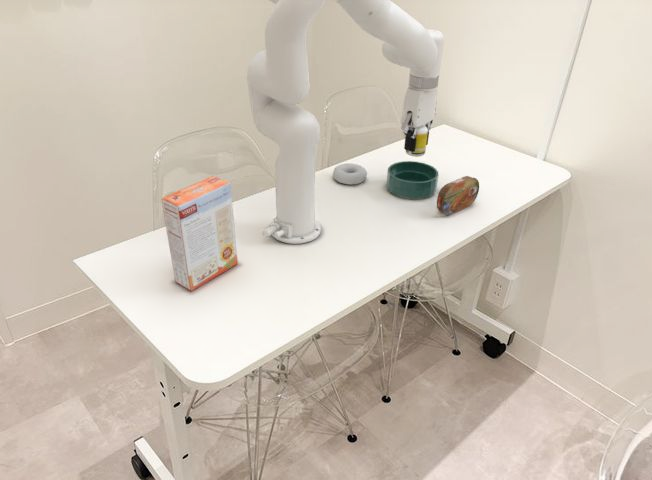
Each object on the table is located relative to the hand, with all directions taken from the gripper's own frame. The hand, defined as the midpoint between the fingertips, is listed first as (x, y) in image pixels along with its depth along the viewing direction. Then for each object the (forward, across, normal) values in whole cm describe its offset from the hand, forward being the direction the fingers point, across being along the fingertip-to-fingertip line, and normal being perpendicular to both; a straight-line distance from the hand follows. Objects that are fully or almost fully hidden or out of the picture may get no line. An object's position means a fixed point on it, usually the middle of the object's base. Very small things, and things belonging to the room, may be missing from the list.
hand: (415, 146), depth 161 cm
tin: (+13, +2, +16) cm, 20 cm away
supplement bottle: (+2, 0, 0) cm, 2 cm away
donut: (+13, +7, -17) cm, 23 cm away
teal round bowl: (+13, 0, 0) cm, 13 cm away
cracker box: (+13, +67, -10) cm, 69 cm away
